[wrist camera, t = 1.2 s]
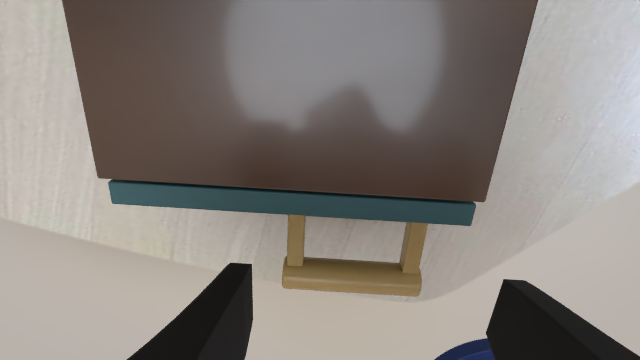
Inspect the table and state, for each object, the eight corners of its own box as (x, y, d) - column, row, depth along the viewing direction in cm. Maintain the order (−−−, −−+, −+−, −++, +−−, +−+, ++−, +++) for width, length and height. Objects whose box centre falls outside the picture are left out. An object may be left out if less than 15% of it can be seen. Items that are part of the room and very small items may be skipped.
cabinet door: (399, 230, 21) (442, 341, 13) (207, 217, 21) (134, 322, 13) (414, 137, 19) (477, 204, 11) (200, 124, 19) (106, 181, 11)
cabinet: (415, 133, 19) (485, 203, 10) (200, 119, 19) (96, 179, 10) (451, -87, 15) (607, -253, 7) (183, -103, 15) (1, -289, 7)
